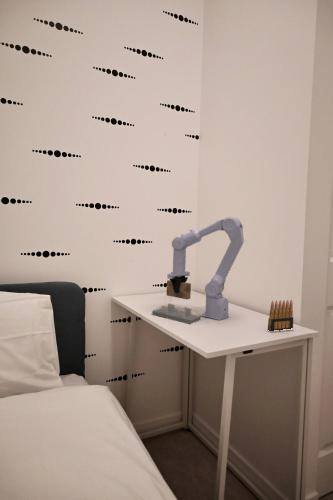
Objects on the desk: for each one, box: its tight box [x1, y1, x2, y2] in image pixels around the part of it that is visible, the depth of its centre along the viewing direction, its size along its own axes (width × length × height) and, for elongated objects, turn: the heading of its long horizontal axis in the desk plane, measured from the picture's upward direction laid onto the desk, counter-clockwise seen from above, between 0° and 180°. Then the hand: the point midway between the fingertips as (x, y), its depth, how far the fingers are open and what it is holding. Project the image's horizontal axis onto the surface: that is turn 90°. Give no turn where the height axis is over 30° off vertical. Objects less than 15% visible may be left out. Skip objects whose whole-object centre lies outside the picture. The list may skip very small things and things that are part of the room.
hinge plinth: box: [151, 303, 202, 325], centre depth 136 cm, size 20×8×4 cm, turn 52°
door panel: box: [165, 279, 192, 301], centre depth 146 cm, size 12×3×7 cm, turn 51°
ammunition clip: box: [267, 299, 294, 332], centre depth 122 cm, size 11×2×12 cm, turn 110°
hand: (178, 292), depth 146 cm, fingers closed on door panel, 2 cm apart
